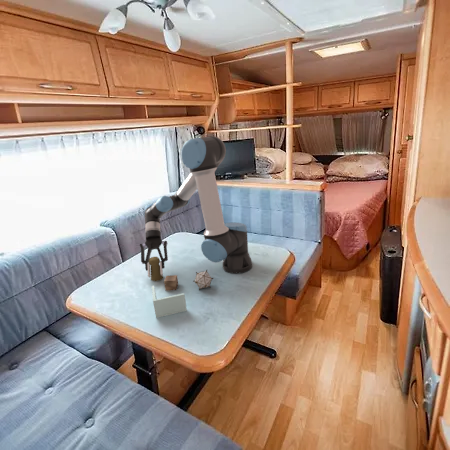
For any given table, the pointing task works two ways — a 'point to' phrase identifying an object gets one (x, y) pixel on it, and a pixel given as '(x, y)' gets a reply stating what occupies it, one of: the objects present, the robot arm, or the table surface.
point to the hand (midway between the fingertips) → (155, 275)
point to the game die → (203, 279)
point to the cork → (155, 269)
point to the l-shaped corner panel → (168, 304)
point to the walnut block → (171, 282)
